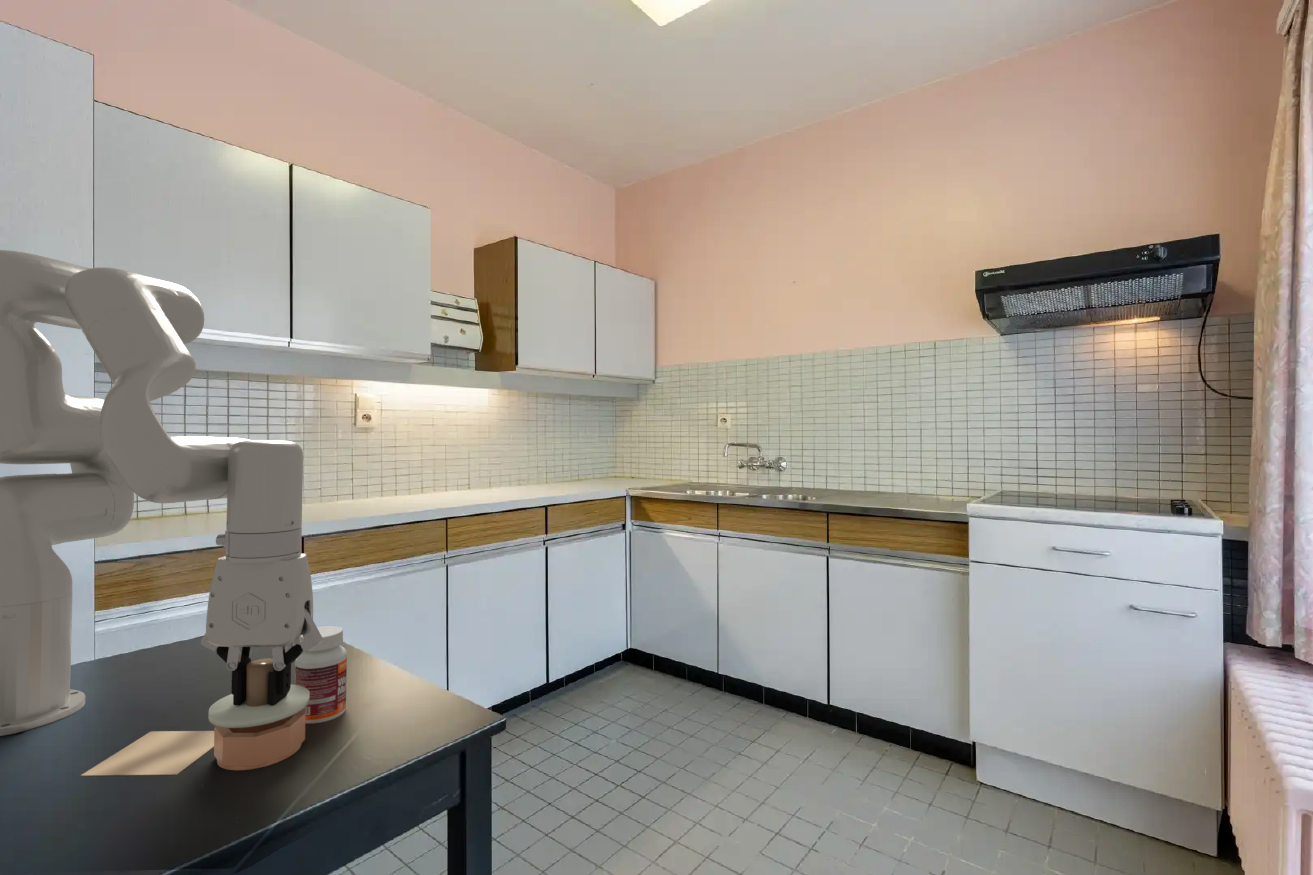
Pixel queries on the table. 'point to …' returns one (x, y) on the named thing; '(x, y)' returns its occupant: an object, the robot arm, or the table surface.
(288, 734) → the bowl
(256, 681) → the lid
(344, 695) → the pill bottle
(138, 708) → the table surface
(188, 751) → the mat
